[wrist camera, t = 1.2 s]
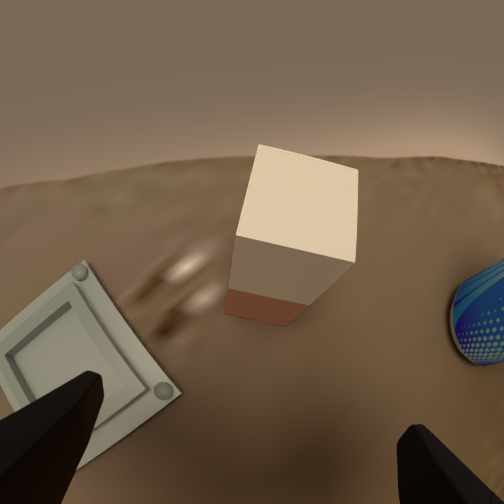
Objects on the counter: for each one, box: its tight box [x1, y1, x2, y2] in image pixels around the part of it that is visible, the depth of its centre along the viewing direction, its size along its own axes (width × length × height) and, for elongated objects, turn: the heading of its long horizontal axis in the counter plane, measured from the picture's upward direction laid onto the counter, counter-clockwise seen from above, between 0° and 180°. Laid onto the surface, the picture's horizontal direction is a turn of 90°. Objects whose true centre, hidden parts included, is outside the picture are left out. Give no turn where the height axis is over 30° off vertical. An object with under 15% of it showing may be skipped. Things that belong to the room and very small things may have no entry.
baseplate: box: [0, 260, 182, 471], centre depth 18 cm, size 12×12×2 cm
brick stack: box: [225, 145, 358, 326], centre depth 18 cm, size 4×4×12 cm
